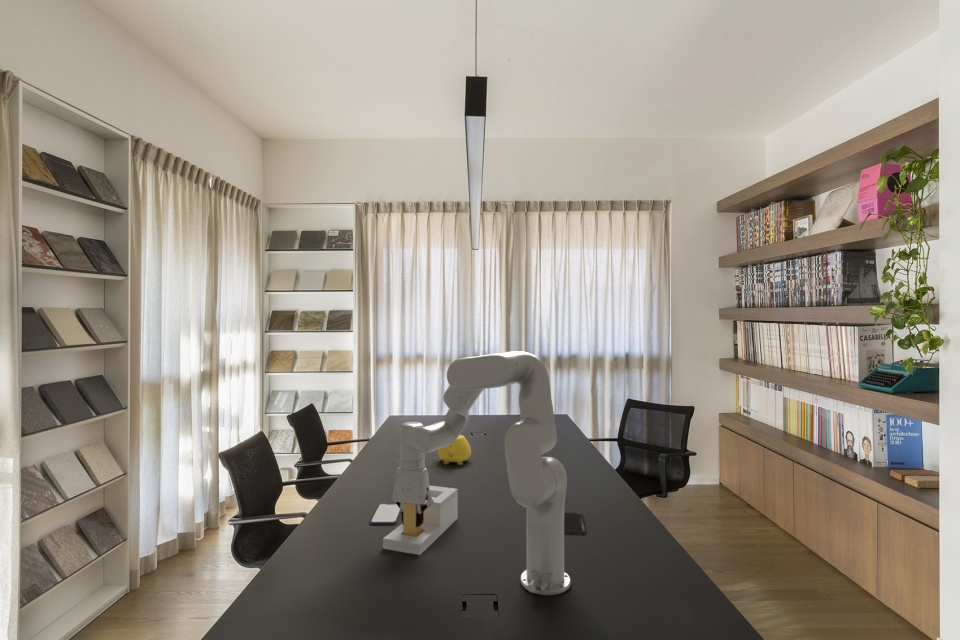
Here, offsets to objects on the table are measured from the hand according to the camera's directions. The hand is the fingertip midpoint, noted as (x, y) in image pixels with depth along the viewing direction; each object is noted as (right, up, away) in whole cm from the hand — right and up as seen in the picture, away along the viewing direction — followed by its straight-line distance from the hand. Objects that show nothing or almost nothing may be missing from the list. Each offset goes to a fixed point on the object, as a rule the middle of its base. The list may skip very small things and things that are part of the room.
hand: (412, 523), depth 154 cm
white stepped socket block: (+2, -5, +7) cm, 9 cm away
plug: (0, -3, 0) cm, 3 cm away
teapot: (+8, -5, +83) cm, 84 cm away
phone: (+50, -6, +12) cm, 52 cm away
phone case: (-11, -6, +21) cm, 24 cm away
